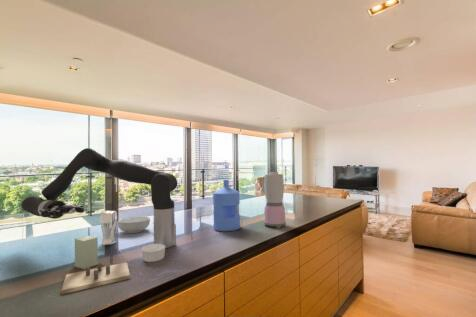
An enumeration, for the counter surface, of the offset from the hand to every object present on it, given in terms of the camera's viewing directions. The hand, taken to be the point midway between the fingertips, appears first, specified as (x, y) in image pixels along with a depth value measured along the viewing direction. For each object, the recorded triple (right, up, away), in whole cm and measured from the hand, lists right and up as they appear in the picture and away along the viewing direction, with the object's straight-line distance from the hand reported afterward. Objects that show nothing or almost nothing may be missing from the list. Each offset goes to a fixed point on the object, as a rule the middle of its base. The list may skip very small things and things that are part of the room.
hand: (71, 212), depth 94 cm
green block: (+10, -18, -6) cm, 22 cm away
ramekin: (+34, -18, -1) cm, 38 cm away
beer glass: (+5, -20, +19) cm, 28 cm away
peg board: (+21, -18, -17) cm, 33 cm away
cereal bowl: (+8, -20, +40) cm, 45 cm away
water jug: (+61, -19, +42) cm, 76 cm away
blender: (+88, -19, +47) cm, 101 cm away
